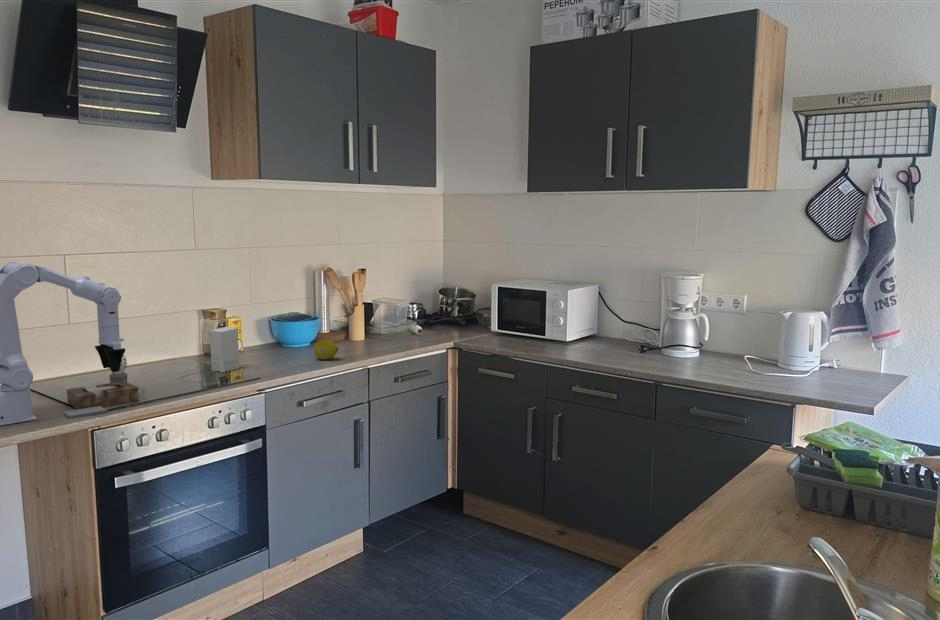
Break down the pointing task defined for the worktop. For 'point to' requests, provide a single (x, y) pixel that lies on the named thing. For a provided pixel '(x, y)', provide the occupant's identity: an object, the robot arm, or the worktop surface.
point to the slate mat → (84, 412)
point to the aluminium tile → (100, 391)
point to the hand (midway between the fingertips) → (111, 369)
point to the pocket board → (113, 397)
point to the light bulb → (119, 376)
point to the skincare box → (224, 349)
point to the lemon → (325, 349)
